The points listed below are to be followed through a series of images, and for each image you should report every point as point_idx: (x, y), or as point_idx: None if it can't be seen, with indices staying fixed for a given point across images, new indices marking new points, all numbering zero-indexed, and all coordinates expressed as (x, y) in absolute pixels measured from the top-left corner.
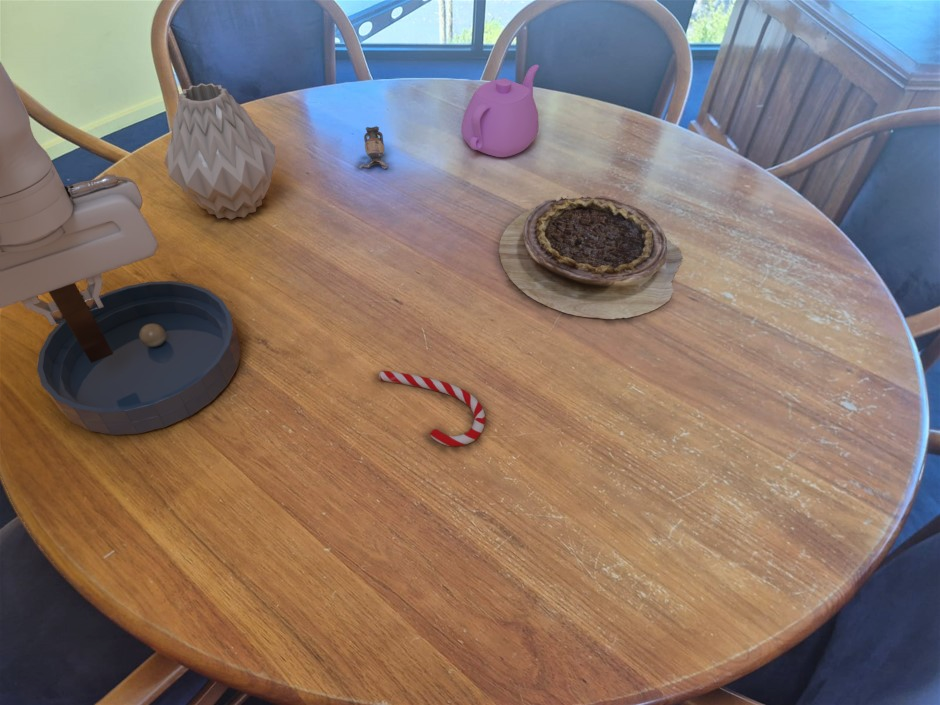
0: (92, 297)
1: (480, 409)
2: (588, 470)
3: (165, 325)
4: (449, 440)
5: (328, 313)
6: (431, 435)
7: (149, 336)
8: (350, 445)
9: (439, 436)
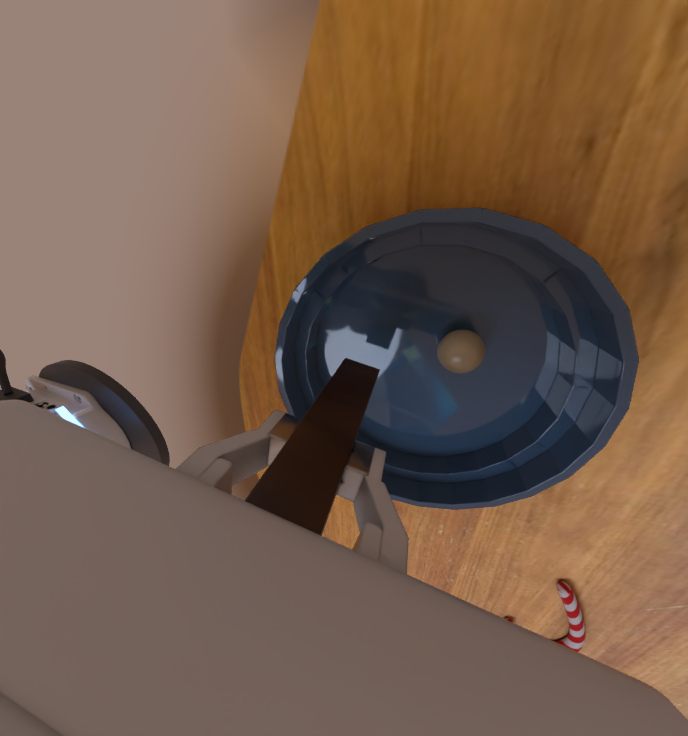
0: (354, 505)
1: None
2: None
3: (504, 318)
4: None
5: (683, 503)
6: None
7: (448, 368)
8: (457, 571)
9: None
